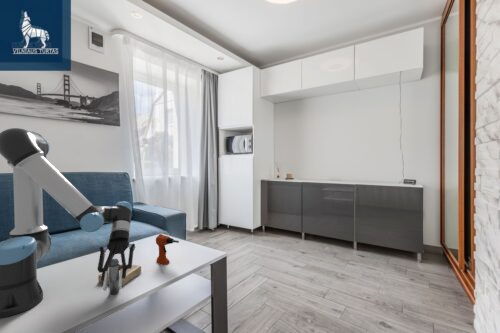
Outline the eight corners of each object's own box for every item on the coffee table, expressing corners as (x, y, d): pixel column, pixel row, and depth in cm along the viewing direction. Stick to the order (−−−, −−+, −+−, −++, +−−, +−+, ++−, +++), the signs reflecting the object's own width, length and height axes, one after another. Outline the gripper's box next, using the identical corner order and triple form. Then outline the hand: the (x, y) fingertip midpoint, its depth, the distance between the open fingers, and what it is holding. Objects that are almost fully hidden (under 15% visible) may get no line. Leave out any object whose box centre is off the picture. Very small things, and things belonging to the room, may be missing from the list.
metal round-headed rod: (107, 294, 93) (106, 260, 92) (113, 290, 96) (113, 256, 96) (114, 295, 92) (114, 261, 92) (121, 291, 95) (120, 257, 95)
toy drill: (176, 268, 112) (173, 236, 113) (154, 263, 123) (152, 234, 124) (184, 265, 116) (182, 234, 117) (162, 260, 127) (160, 232, 128)
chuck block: (98, 282, 102) (98, 275, 102) (118, 269, 114) (118, 263, 114) (123, 284, 100) (122, 277, 100) (141, 272, 112) (141, 265, 112)
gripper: (142, 235, 111) (138, 287, 96) (99, 239, 105) (87, 295, 90) (140, 227, 106) (136, 281, 91) (95, 230, 100) (82, 289, 85)
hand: (112, 288), depth 90 cm, fingers open, 4 cm apart
